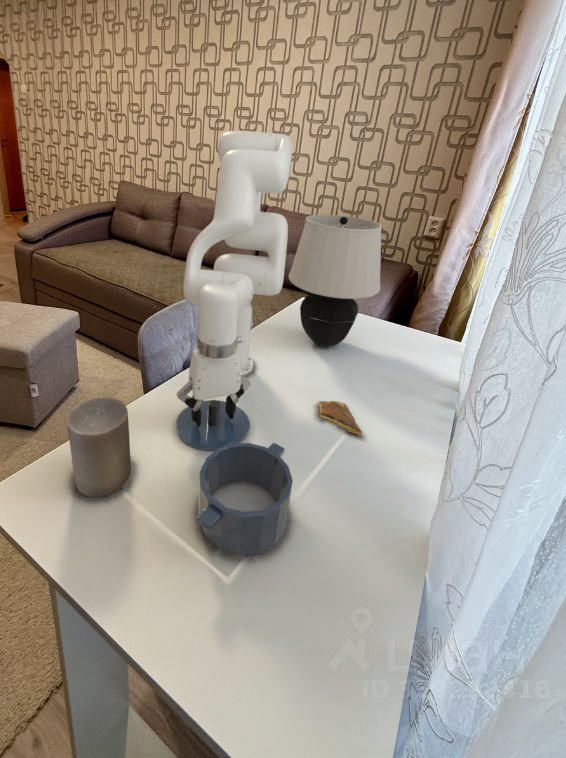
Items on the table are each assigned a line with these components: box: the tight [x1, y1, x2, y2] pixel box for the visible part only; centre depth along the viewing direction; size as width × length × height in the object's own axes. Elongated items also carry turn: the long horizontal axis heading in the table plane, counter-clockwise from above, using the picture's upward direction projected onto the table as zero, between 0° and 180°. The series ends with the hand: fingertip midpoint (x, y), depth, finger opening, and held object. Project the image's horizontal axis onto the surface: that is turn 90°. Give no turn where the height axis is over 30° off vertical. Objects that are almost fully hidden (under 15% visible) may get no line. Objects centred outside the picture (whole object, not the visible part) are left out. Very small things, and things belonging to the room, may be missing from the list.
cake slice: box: [317, 400, 363, 436], centre depth 89 cm, size 11×8×2 cm
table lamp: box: [288, 214, 383, 348], centre depth 118 cm, size 27×27×40 cm
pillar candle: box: [66, 397, 132, 498], centre depth 68 cm, size 10×10×15 cm
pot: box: [196, 442, 294, 557], centre depth 64 cm, size 15×20×8 cm
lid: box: [175, 399, 251, 452], centre depth 84 cm, size 16×16×6 cm
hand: (213, 418), depth 84 cm, fingers open, 6 cm apart
